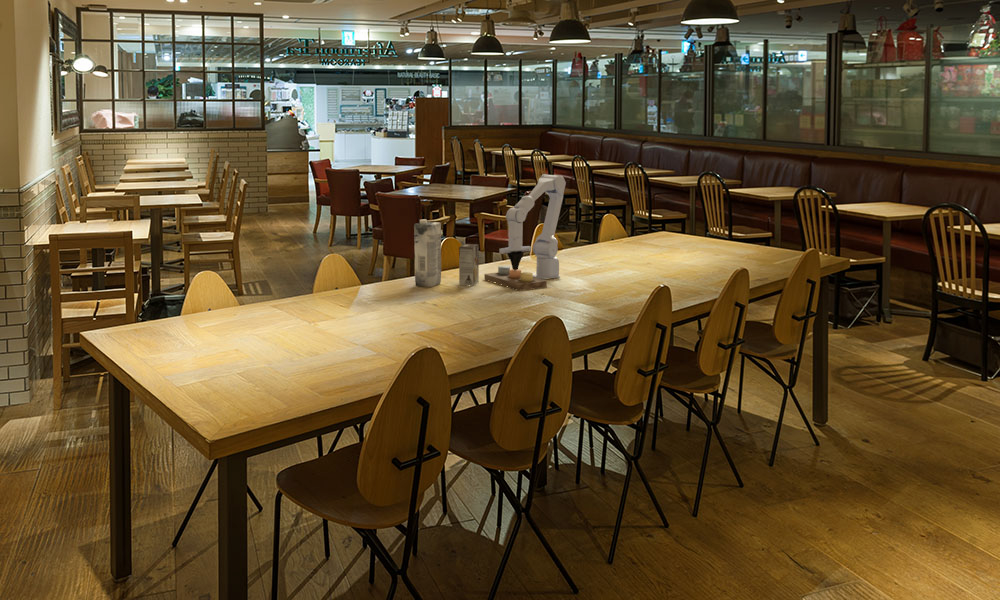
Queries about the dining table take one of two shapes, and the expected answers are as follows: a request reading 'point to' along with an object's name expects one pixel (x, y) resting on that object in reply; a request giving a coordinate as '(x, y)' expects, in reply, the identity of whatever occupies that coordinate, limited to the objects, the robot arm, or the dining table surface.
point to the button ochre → (526, 277)
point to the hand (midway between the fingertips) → (515, 269)
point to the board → (515, 281)
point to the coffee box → (469, 264)
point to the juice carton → (427, 253)
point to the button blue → (503, 270)
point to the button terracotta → (514, 274)
